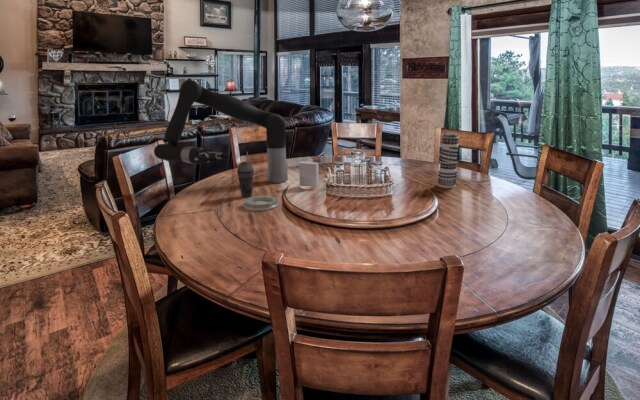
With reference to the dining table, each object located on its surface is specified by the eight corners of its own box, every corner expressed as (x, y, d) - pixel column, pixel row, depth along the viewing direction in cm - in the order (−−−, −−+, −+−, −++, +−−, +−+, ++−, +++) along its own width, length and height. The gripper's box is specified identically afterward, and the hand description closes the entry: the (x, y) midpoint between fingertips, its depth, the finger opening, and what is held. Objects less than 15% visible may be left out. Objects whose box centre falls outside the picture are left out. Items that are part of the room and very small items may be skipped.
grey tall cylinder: (458, 184, 213) (462, 132, 206) (455, 189, 205) (459, 135, 198) (438, 182, 217) (442, 131, 210) (435, 187, 209) (438, 134, 202)
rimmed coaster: (259, 199, 189) (258, 194, 189) (284, 204, 182) (284, 198, 181) (236, 207, 178) (235, 201, 178) (262, 213, 171) (262, 206, 170)
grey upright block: (296, 188, 207) (296, 163, 204) (304, 184, 215) (304, 160, 212) (314, 190, 204) (313, 165, 200) (321, 186, 212) (321, 161, 208)
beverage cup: (239, 194, 198) (236, 150, 192) (255, 194, 198) (253, 150, 193) (237, 198, 191) (235, 153, 185) (254, 198, 191) (252, 152, 186)
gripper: (182, 149, 193) (212, 152, 187) (203, 145, 206) (232, 147, 200) (183, 166, 195) (213, 169, 189) (204, 160, 208) (232, 163, 202)
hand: (222, 158), depth 194 cm, fingers open, 8 cm apart
